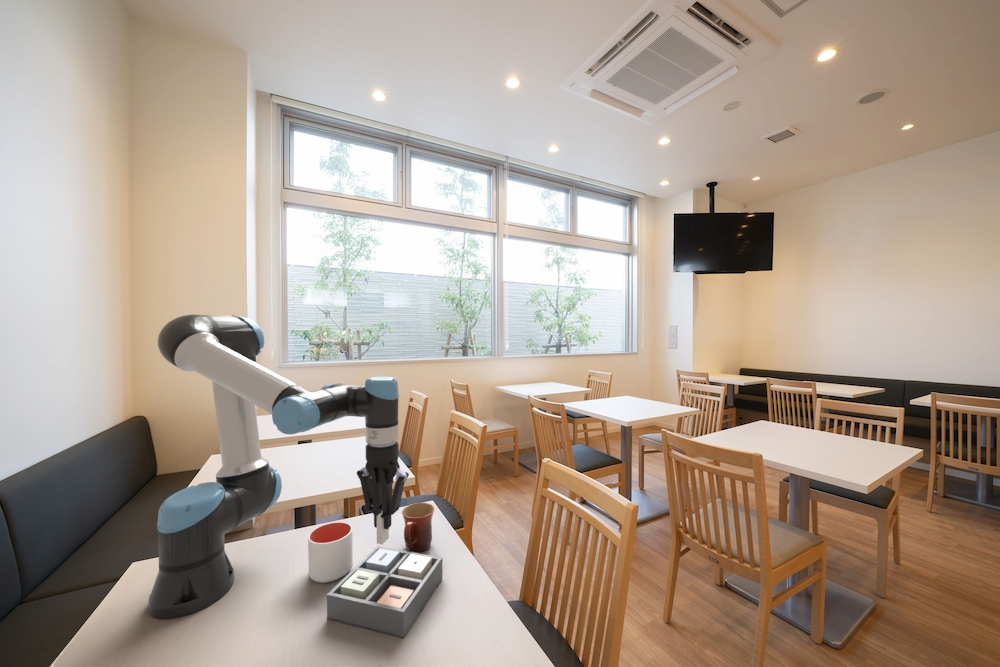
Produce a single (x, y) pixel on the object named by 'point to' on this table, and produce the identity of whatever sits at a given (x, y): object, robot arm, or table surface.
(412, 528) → the mug
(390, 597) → the terracotta key
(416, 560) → the cream key
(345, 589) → the sage key
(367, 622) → the grey compartment tray
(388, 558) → the slate key
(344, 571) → the cup
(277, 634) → the table surface
